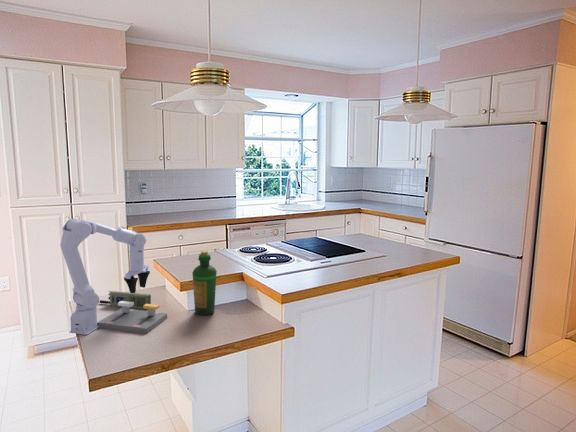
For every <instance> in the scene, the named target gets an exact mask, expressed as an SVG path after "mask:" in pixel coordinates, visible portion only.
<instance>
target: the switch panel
mask: <svg viewBox="0 0 576 432" xmlns="http://www.w3.org/2000/svg"><path fill="white" fill-rule="evenodd" d="M167 319H168V313H166V312H159V311H158V312H157V311H155V315H154V316H149V315H148V310H143V309H134V308H130V312H128V313H123V312H122V307H120V308H118V309H117V310H116V311H114V312H112V313H110V314H109V315H107V316H105V317H104V318H103V319H100V321H97V326H100V327H99V328H100V329H108V330H117V331H125V332H133V333H138V334H148V333H149V332H151V331H152V330H153V329H155V328H156V327H157V326H159V325H160V324H161V323H162V322H164V321H165V320H167Z"/></svg>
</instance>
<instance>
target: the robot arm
mask: <svg viewBox="0 0 576 432" xmlns="http://www.w3.org/2000/svg"><path fill="white" fill-rule="evenodd" d="M96 233H99V234H103V235H107V236H109V237H110V236H111V237H112V239H113V241H116V242H119V243H124V244H126V245H129V247H128V248H129V271H127V272H126V273H125V275H124V277H123V280H124V281H125V283H126V285H127V286H128V291H129V293H137V292H136V291H137V282H138V281H139V282H138V284H139V287H140V288H146V284H147V282H148V281H147V280H148V278H149V276H150V273H151V271H150V270H149V265H145V257H144V255H145V254H144V252H145V251H144V249H145V244H146V243H147V238H146V237H145V235H144V234H143V233H139V232H136V231H135V230H133V229H132V230H130V229H126V227H125V226H121V227H120V226H118V227H115V228H113V227H110V226H107V225H105V224H100V223H98V222H94V221H88V220H82V219H80V220H79V219H77V218H71V219H68V220H67V221H66V222H65V224H63V227H62V236H61V240H60V250H61V252H62V255H63V258H64V260H65V263H66V267H67V269H68V272H69V275H70V278H71V281H72V285H73V288H72V292H73V293H72V300H73V302H74V303H75V304H76V305H75V311H73V313H71V316H70V321H69V322H70V330H69V331H68V332H69V333H70V334H75V335H76V334H78V335H85V336H87V335H89V334H90V333H92V332H94V331H95V330H97V329H98V328H100V326H97V322H98V311H97V310H98V309H97V308H98V307H97V306H98V304H99V303H100V296H99V295H98V294H97V293H96V292H95V289H94V288H93V286H92V285H91V284H90V282H89V279H88V277H87V272H86V270H85V267H84V264H83V260H82V257H81V255H80V251H79V245H80V244H81V243H82V242H83V241H85V240H86V239H87V238H88V237H89V236H90V235H95V234H96ZM136 275H137V277H136Z"/></svg>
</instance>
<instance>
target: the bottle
mask: <svg viewBox="0 0 576 432" xmlns="http://www.w3.org/2000/svg"><path fill="white" fill-rule="evenodd" d="M197 260H198V262H199V265H197V266H196V267H195V268H194V269H193V271H192V288H193V303H194V312H195V314H197V315H199V316H208V315H213V313H215V308H216V307H215V306H216V304H215V303H216V287H217V273H218V272H217V270H216V268H215V267H214V266H212V265H210V261H211V260H212V259H211V254H210V253H209V251H208V250H201V251H200V253H199V254H198V259H197Z"/></svg>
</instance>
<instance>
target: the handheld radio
mask: <svg viewBox="0 0 576 432" xmlns="http://www.w3.org/2000/svg"><path fill="white" fill-rule="evenodd" d="M151 296H152V295H151V294H148V293H137V292H135V293H130V292H127V291H125V292H124V291H117V290H116V291H115V290H108V298H107V299H108V300H104V299H103V300H102V299H99V303H100V304H107V305H109V306H111V307H120V308H122V306H118V302H120V301H127V302H134V305H133V306H131V307H130V309H139V310H146V309H145V308H143V305H145V304H152V297H151Z"/></svg>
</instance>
